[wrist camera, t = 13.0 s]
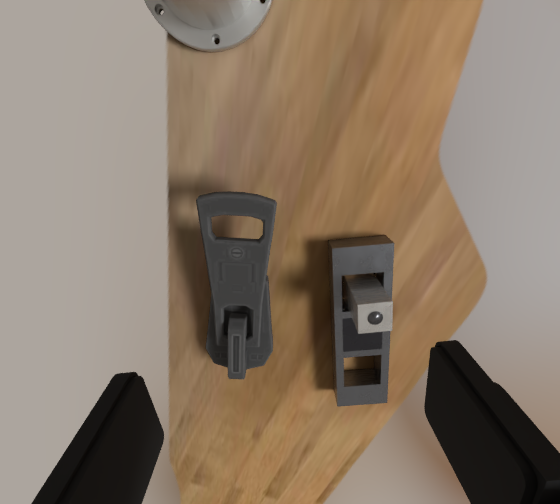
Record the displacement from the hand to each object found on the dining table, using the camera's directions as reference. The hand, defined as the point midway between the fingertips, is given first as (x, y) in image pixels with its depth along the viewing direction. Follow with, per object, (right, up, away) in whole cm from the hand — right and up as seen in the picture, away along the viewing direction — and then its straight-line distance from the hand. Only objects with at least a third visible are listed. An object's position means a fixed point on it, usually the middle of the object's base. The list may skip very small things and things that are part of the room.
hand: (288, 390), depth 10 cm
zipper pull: (-5, +1, +29) cm, 30 cm away
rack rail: (+10, -5, +31) cm, 33 cm away
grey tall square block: (+10, 0, +29) cm, 31 cm away
